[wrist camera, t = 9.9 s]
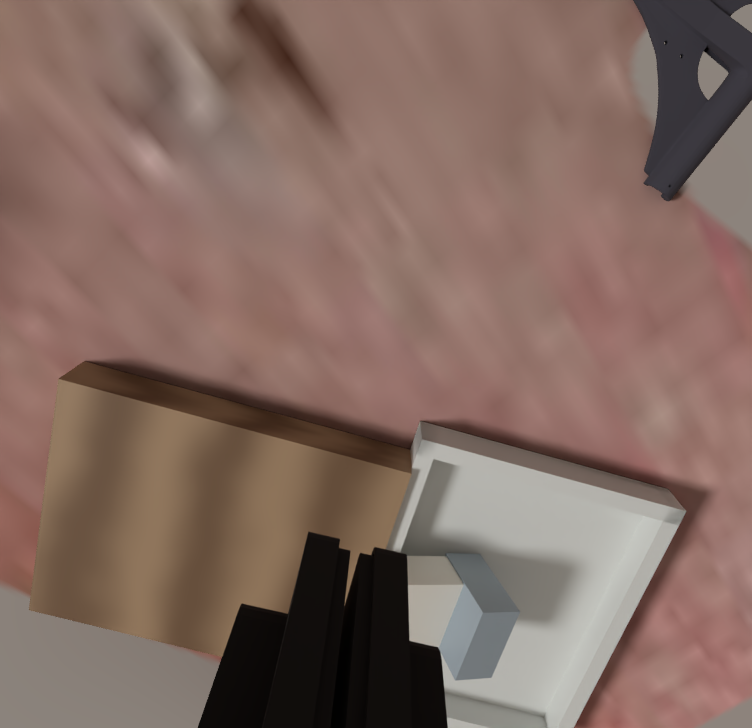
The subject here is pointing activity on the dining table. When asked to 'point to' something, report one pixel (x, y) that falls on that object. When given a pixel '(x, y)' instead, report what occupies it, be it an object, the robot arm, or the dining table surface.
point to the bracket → (693, 83)
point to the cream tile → (431, 597)
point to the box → (536, 565)
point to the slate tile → (477, 620)
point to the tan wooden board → (194, 506)
